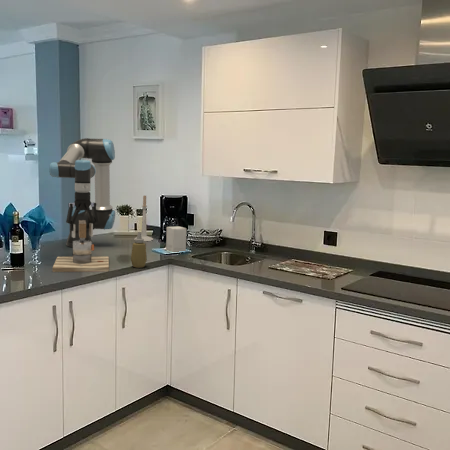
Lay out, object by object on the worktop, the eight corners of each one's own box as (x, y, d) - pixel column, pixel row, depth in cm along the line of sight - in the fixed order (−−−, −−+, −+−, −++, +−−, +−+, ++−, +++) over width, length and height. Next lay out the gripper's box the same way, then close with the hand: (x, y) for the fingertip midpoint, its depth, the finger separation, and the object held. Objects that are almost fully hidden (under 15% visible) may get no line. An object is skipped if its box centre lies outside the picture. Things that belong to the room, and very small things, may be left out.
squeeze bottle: (133, 268, 257) (134, 233, 254) (128, 265, 264) (129, 230, 261) (148, 267, 260) (149, 232, 258) (143, 264, 268) (144, 230, 265)
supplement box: (186, 253, 302) (187, 228, 300) (172, 254, 297) (173, 228, 295) (178, 250, 309) (179, 226, 307) (165, 251, 304) (166, 226, 302)
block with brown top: (73, 256, 251) (73, 223, 249) (72, 251, 262) (72, 220, 260) (94, 255, 254) (94, 223, 252) (93, 250, 265) (93, 220, 263)
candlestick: (135, 242, 331) (136, 195, 327) (132, 238, 343) (133, 193, 339) (155, 241, 335) (156, 196, 331) (151, 238, 347) (152, 194, 343)
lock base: (57, 260, 268) (57, 249, 267) (108, 260, 274) (108, 249, 273) (52, 271, 243) (52, 259, 242) (108, 271, 249) (108, 259, 248)
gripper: (64, 192, 244) (64, 239, 247) (105, 192, 257) (105, 236, 260) (58, 191, 250) (58, 236, 253) (99, 190, 263) (99, 234, 266)
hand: (82, 236), depth 257 cm, fingers open, 8 cm apart
